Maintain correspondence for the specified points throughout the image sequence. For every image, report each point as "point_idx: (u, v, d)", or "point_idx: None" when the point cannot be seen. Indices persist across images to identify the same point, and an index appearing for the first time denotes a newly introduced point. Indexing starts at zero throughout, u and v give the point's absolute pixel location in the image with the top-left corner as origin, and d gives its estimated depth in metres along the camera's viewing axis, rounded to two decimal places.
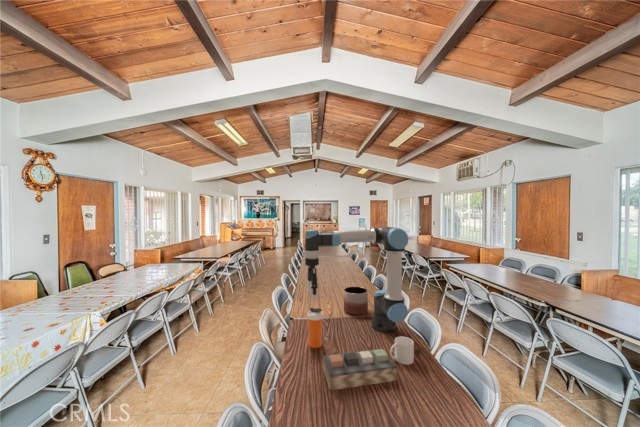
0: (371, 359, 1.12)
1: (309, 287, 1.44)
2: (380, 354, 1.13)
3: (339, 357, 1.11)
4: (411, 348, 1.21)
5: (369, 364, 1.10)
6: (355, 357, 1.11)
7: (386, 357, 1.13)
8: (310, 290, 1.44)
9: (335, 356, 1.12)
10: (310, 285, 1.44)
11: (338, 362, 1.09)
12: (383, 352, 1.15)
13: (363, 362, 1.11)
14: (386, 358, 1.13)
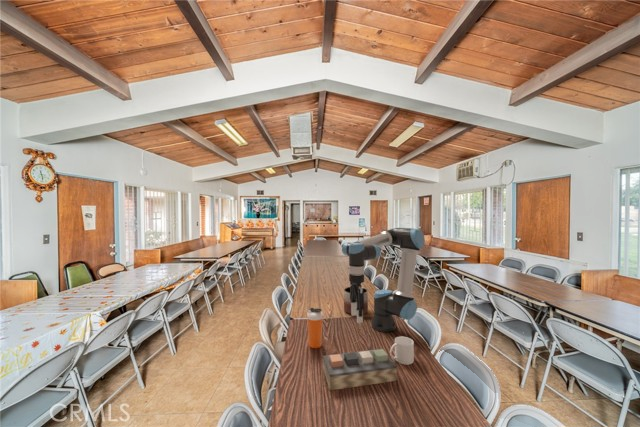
0: (371, 359, 1.12)
1: (353, 310, 1.29)
2: (380, 354, 1.13)
3: (339, 357, 1.11)
4: (411, 348, 1.21)
5: (369, 364, 1.10)
6: (355, 357, 1.11)
7: (386, 357, 1.13)
8: (354, 313, 1.29)
9: (335, 356, 1.12)
10: (354, 307, 1.29)
11: (338, 362, 1.09)
12: (383, 352, 1.15)
13: (363, 362, 1.11)
14: (386, 358, 1.13)
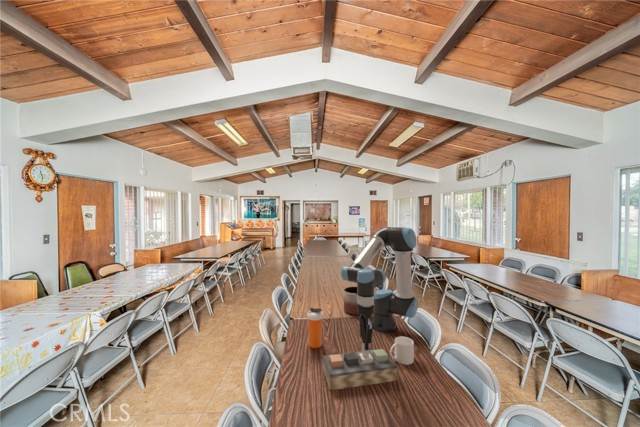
0: (371, 361, 1.12)
1: None
2: (380, 354, 1.13)
3: (339, 357, 1.11)
4: (411, 348, 1.21)
5: (369, 364, 1.10)
6: (355, 357, 1.11)
7: (386, 357, 1.13)
8: None
9: (335, 356, 1.12)
10: None
11: (338, 362, 1.09)
12: (383, 352, 1.15)
13: None
14: (386, 358, 1.13)
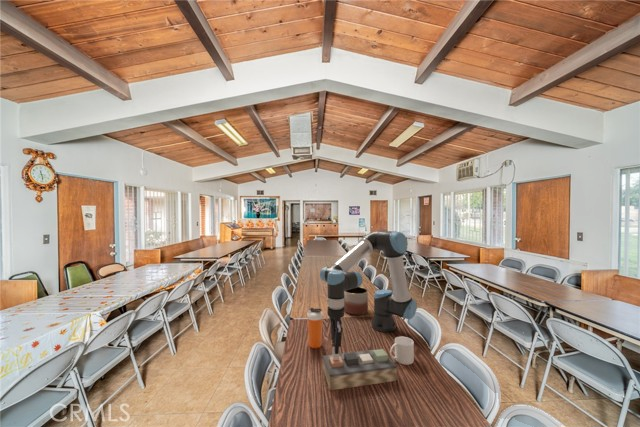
0: (371, 362, 1.12)
1: (334, 353, 1.11)
2: (380, 354, 1.13)
3: (339, 359, 1.11)
4: (411, 348, 1.21)
5: (369, 364, 1.10)
6: (355, 357, 1.11)
7: (386, 357, 1.13)
8: None
9: None
10: None
11: (338, 364, 1.09)
12: (383, 352, 1.15)
13: None
14: (386, 358, 1.13)
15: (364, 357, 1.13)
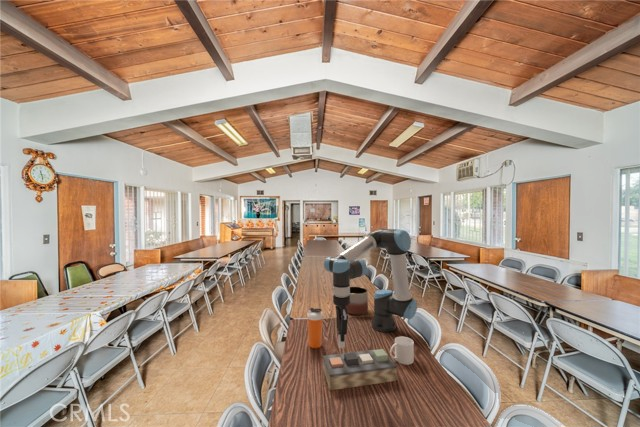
0: (371, 362, 1.12)
1: None
2: (380, 354, 1.13)
3: (339, 360, 1.11)
4: (411, 348, 1.21)
5: (369, 364, 1.10)
6: (355, 357, 1.11)
7: (386, 357, 1.13)
8: None
9: (335, 359, 1.12)
10: None
11: (338, 365, 1.09)
12: (383, 352, 1.15)
13: None
14: (386, 358, 1.13)
15: (364, 357, 1.13)
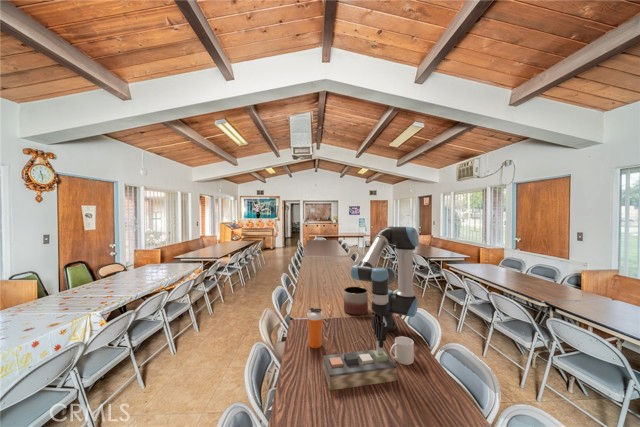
0: (371, 362, 1.12)
1: None
2: (380, 355, 1.13)
3: (339, 360, 1.11)
4: (411, 348, 1.21)
5: (369, 364, 1.10)
6: (355, 357, 1.11)
7: (386, 358, 1.13)
8: None
9: (335, 359, 1.12)
10: None
11: (338, 365, 1.09)
12: (383, 353, 1.15)
13: None
14: (386, 359, 1.13)
15: (364, 357, 1.13)
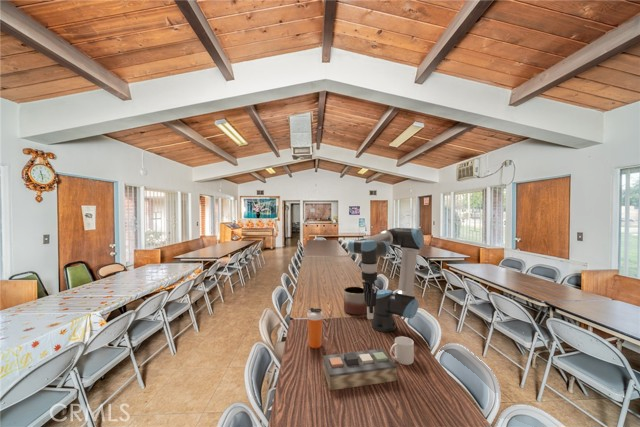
0: (371, 362, 1.12)
1: None
2: (380, 357, 1.13)
3: (339, 360, 1.11)
4: (411, 348, 1.21)
5: (369, 364, 1.10)
6: (355, 357, 1.11)
7: (386, 360, 1.13)
8: None
9: (335, 359, 1.12)
10: None
11: (338, 365, 1.09)
12: (383, 355, 1.15)
13: None
14: None
15: (364, 357, 1.13)
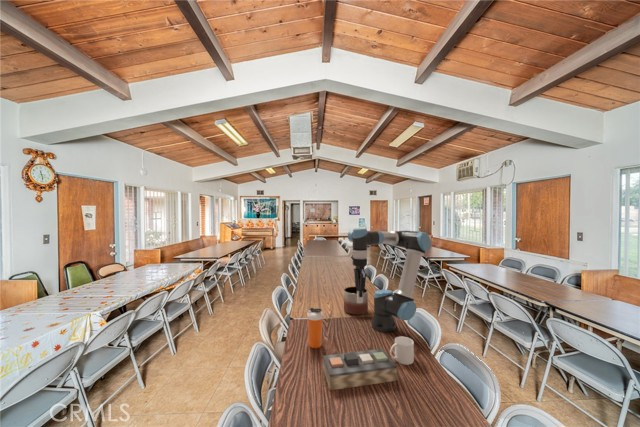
0: (371, 362, 1.12)
1: None
2: (380, 357, 1.13)
3: (339, 360, 1.11)
4: (411, 348, 1.21)
5: (369, 364, 1.10)
6: (355, 357, 1.11)
7: (386, 360, 1.13)
8: None
9: (335, 359, 1.12)
10: None
11: (338, 365, 1.09)
12: (383, 355, 1.15)
13: None
14: None
15: (364, 357, 1.13)
